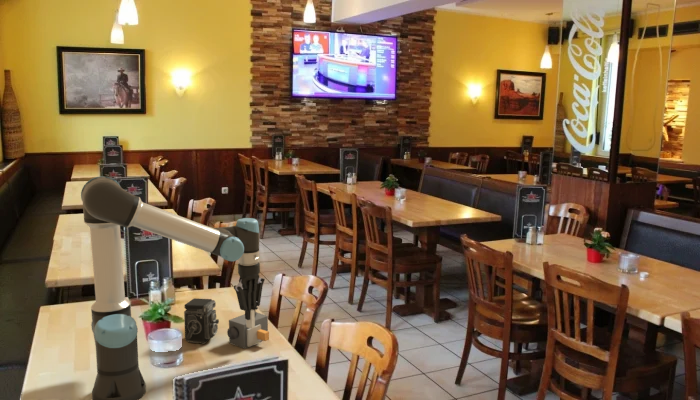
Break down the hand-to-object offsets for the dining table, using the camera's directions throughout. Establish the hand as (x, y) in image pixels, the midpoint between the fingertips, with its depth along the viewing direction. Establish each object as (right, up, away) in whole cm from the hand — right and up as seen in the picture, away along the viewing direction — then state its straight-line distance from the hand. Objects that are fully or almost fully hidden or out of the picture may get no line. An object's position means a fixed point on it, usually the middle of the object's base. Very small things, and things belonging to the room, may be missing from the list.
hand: (250, 327), depth 210 cm
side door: (+2, -8, +6) cm, 10 cm away
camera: (-20, -8, +12) cm, 24 cm away
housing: (-3, -8, +11) cm, 14 cm away
